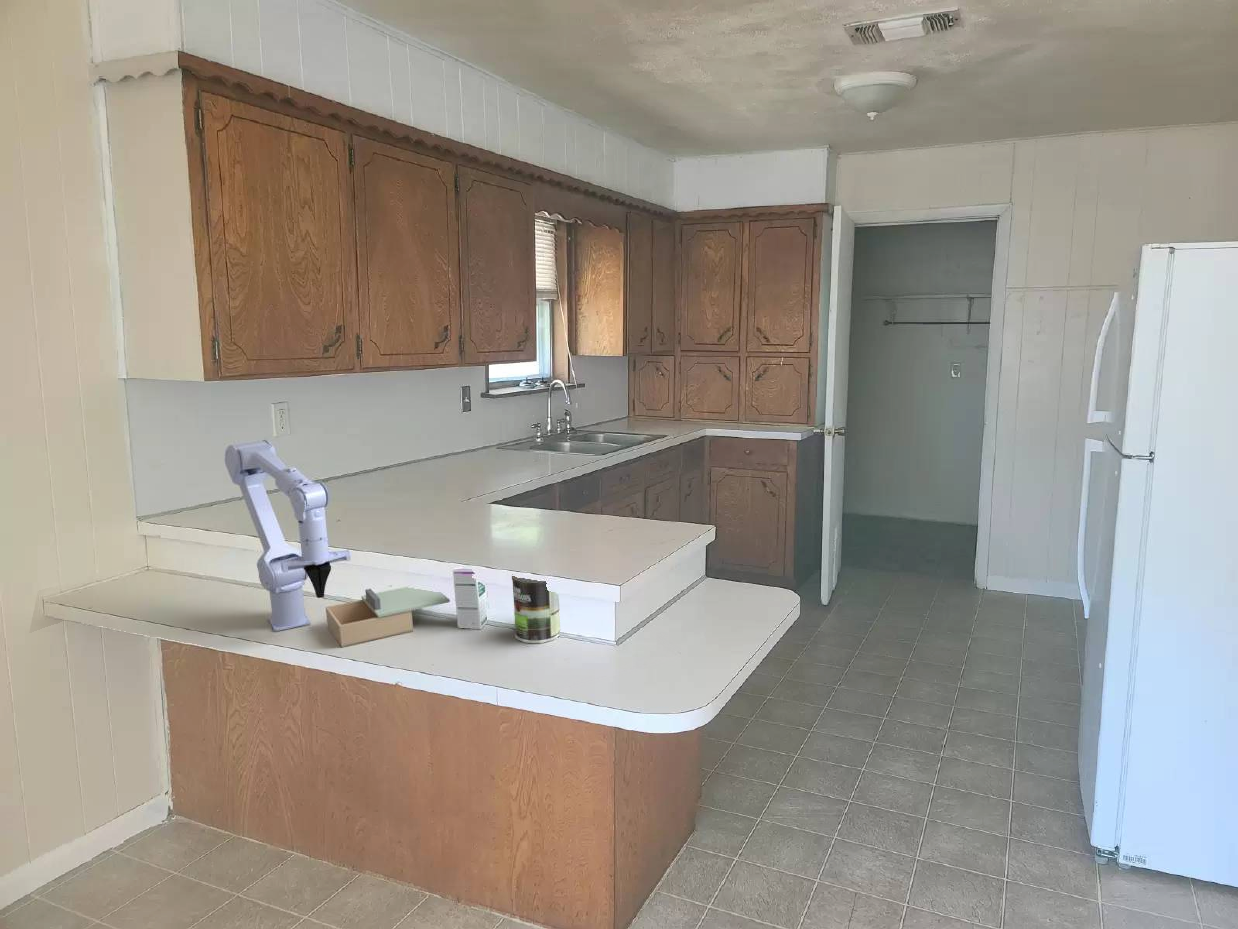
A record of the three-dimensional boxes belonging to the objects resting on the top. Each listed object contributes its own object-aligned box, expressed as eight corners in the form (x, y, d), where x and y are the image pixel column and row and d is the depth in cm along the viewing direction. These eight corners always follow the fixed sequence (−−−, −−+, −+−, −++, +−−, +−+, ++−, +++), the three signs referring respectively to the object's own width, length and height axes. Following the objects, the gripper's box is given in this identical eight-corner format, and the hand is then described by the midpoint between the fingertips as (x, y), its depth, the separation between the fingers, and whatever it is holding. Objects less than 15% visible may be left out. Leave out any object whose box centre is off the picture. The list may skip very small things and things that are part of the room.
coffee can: (532, 647, 188) (528, 585, 186) (506, 634, 196) (502, 574, 193) (570, 634, 195) (567, 574, 192) (544, 622, 203) (540, 564, 200)
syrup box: (481, 630, 199) (477, 569, 196) (456, 628, 200) (452, 568, 197) (489, 620, 205) (485, 561, 202) (465, 619, 206) (461, 560, 203)
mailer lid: (361, 598, 207) (360, 586, 206) (429, 584, 215) (428, 572, 214) (378, 617, 195) (377, 604, 194) (449, 602, 203) (448, 589, 202)
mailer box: (327, 627, 204) (325, 607, 203) (395, 612, 211) (393, 593, 210) (341, 647, 192) (339, 626, 191) (413, 631, 200) (411, 610, 199)
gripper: (282, 547, 186) (289, 608, 189) (351, 536, 193) (357, 594, 196) (276, 540, 192) (283, 598, 195) (344, 529, 199) (349, 586, 202)
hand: (320, 596), depth 196 cm, fingers closed
